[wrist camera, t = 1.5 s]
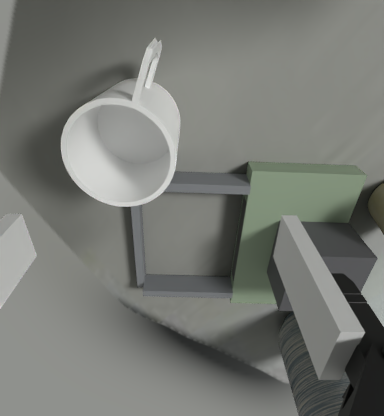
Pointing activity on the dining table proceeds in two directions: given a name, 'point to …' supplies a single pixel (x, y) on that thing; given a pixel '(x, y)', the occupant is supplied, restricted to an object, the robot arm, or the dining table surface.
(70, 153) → the cup
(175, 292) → the square frame with panel
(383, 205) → the flower pot
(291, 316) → the vase
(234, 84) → the dining table surface
